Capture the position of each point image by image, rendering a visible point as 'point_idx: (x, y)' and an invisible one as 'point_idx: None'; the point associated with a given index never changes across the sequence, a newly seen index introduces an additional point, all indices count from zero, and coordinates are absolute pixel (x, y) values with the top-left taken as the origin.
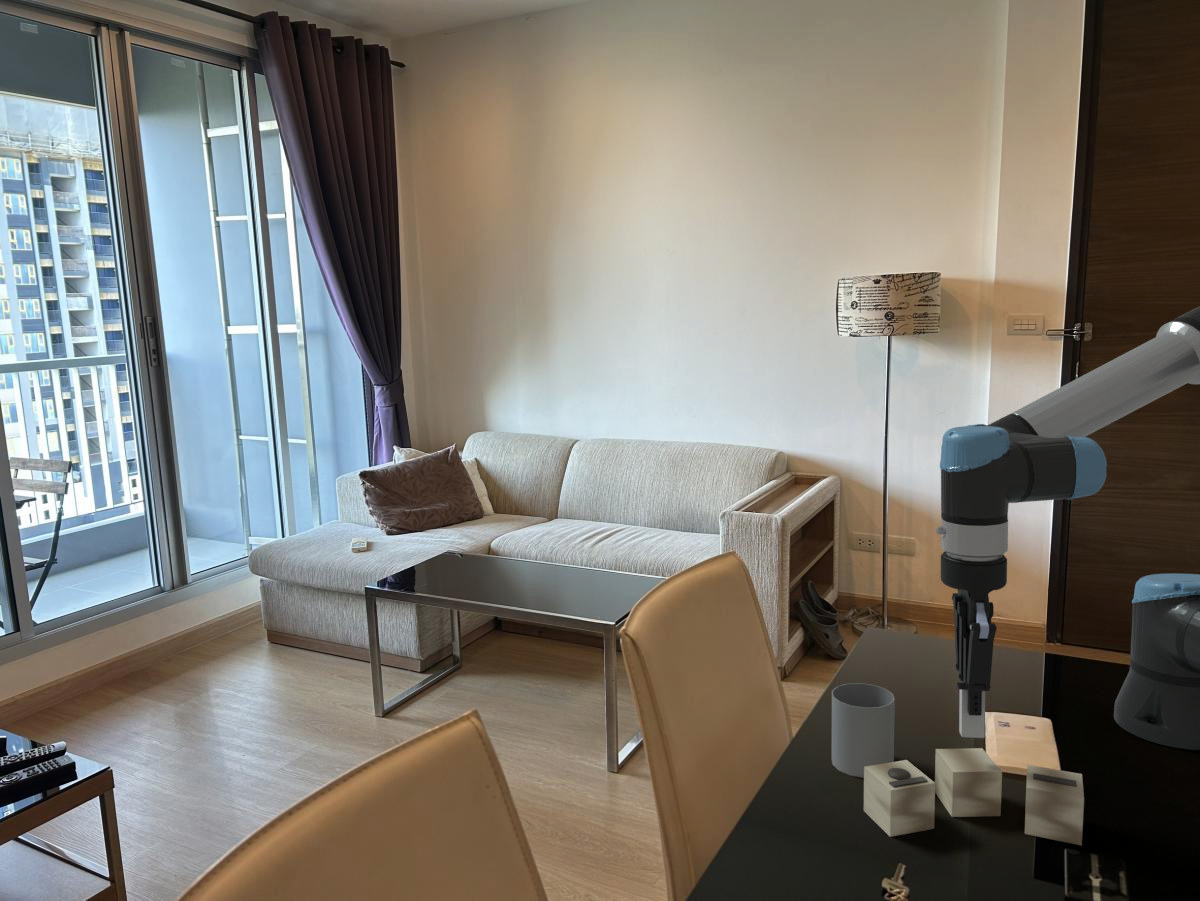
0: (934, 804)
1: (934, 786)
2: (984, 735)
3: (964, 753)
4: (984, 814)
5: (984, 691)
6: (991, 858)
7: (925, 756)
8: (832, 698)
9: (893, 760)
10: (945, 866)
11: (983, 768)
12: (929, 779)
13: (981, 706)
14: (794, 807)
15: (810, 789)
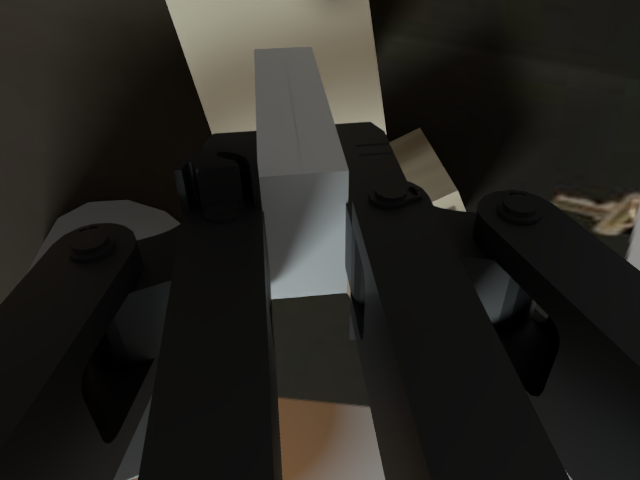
0: (438, 158)
1: (454, 185)
2: (312, 50)
3: (233, 77)
4: None
5: (344, 163)
6: (553, 4)
7: (6, 112)
8: (123, 474)
9: (125, 214)
10: (573, 119)
11: (346, 24)
12: (436, 202)
13: (391, 149)
14: (360, 362)
15: (286, 346)
